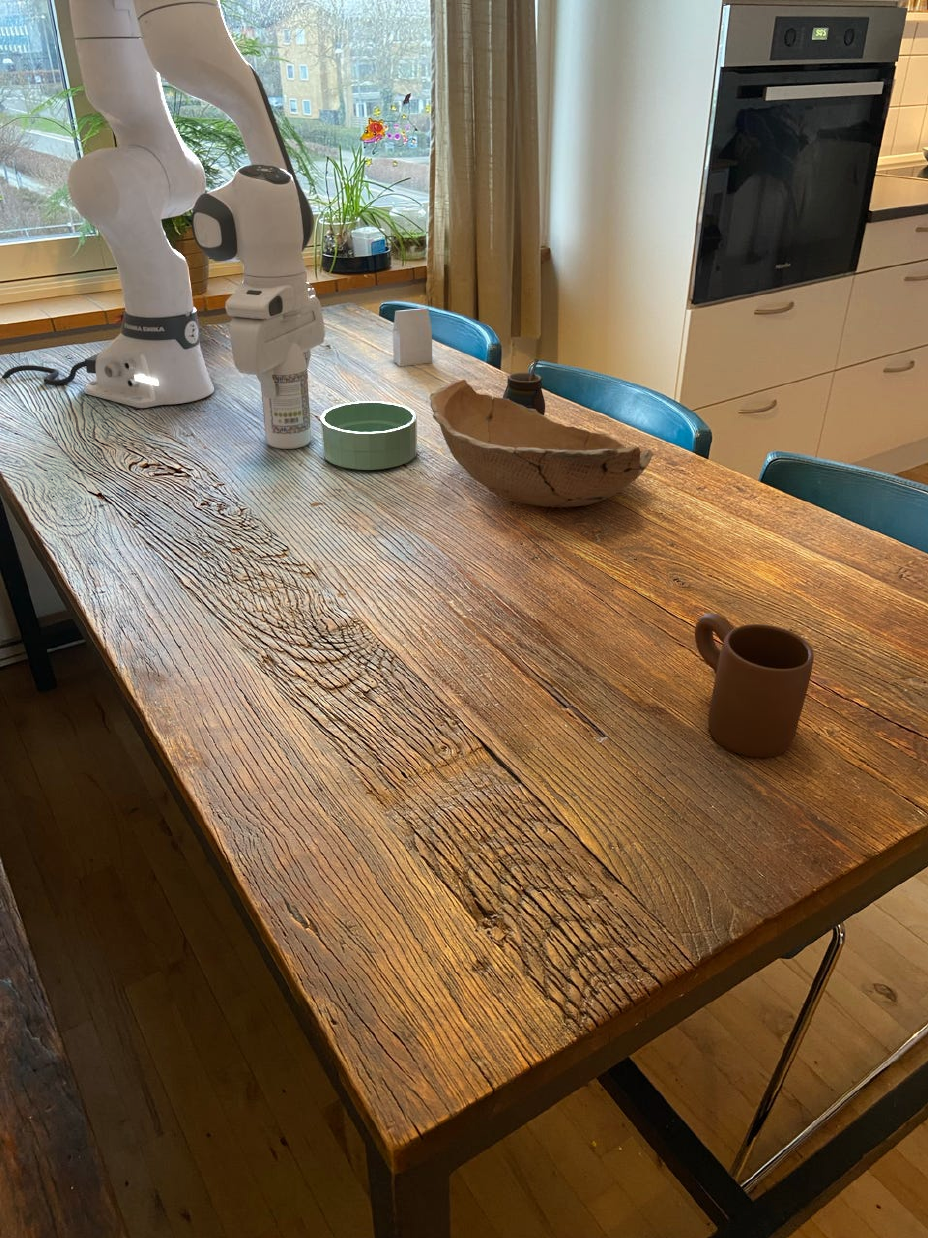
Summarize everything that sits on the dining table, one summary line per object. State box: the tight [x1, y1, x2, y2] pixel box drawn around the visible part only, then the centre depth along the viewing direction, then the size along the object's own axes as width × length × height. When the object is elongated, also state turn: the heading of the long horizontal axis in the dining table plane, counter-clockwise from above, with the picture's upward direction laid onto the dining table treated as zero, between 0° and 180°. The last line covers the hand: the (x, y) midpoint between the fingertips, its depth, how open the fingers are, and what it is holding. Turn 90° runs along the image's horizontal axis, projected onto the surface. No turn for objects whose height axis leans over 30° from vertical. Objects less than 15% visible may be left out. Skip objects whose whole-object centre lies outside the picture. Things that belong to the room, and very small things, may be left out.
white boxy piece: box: [392, 307, 433, 367], centre depth 178 cm, size 4×7×10 cm, turn 115°
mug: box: [694, 612, 815, 759], centre depth 81 cm, size 12×8×9 cm, turn 30°
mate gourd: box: [502, 358, 546, 416], centre depth 148 cm, size 7×8×10 cm
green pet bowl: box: [319, 400, 418, 471], centre depth 136 cm, size 14×14×6 cm
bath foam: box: [260, 343, 312, 450], centre depth 137 cm, size 7×7×20 cm
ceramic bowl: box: [429, 379, 655, 508], centre depth 124 cm, size 30×27×15 cm
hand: (286, 388), depth 137 cm, fingers open, 7 cm apart
